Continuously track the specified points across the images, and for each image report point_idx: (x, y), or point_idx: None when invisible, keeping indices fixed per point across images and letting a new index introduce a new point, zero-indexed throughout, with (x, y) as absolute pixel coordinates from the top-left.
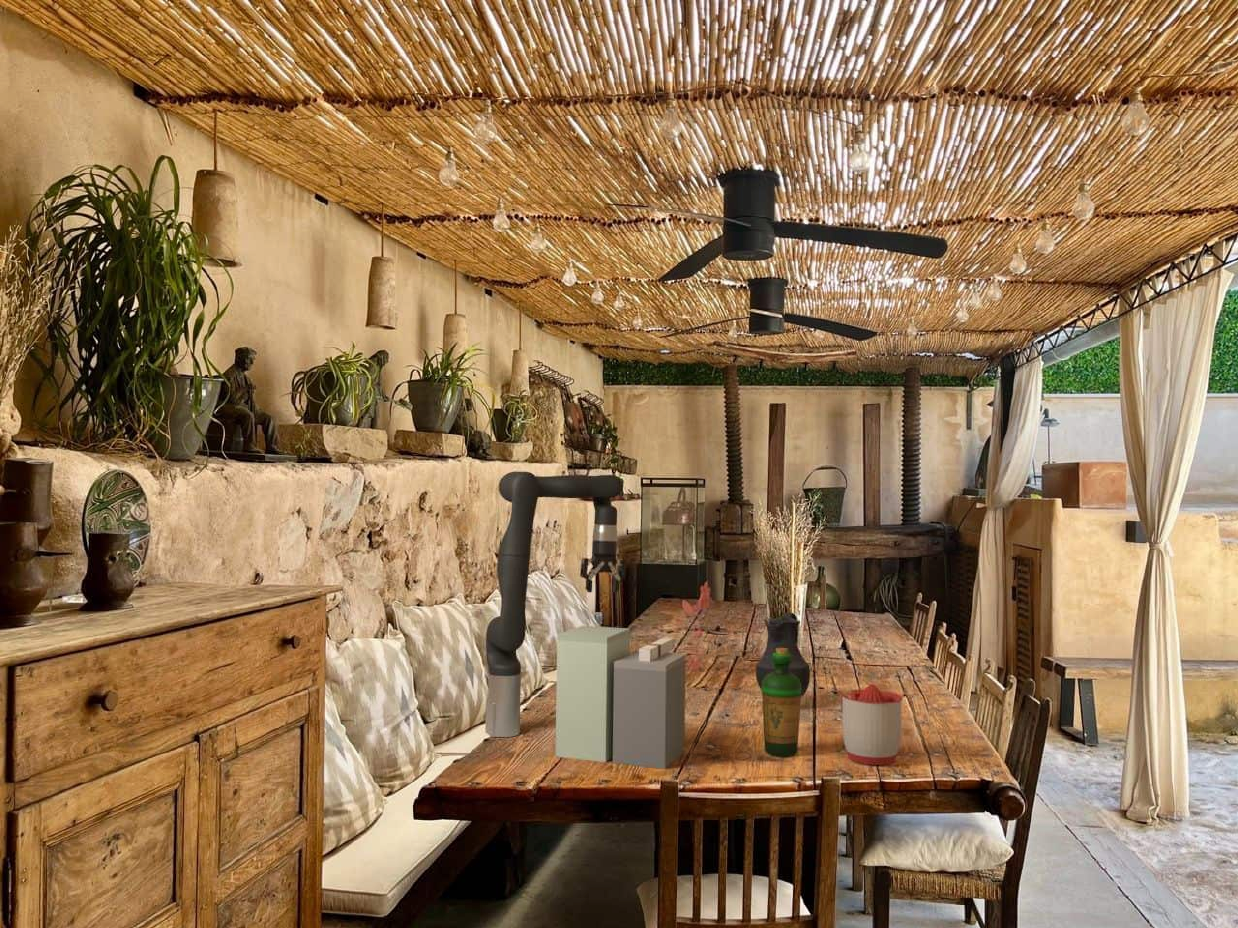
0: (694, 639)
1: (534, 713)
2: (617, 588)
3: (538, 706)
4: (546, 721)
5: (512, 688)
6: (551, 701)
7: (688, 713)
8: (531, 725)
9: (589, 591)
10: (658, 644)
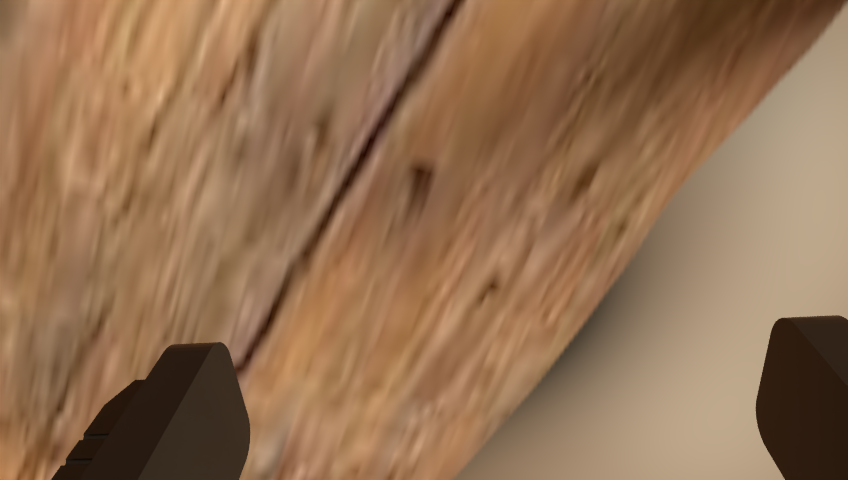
0: None
1: (647, 197)
2: (136, 395)
3: (588, 292)
4: (661, 58)
5: None
6: (515, 346)
7: (29, 17)
8: (748, 7)
9: (837, 328)
10: None
